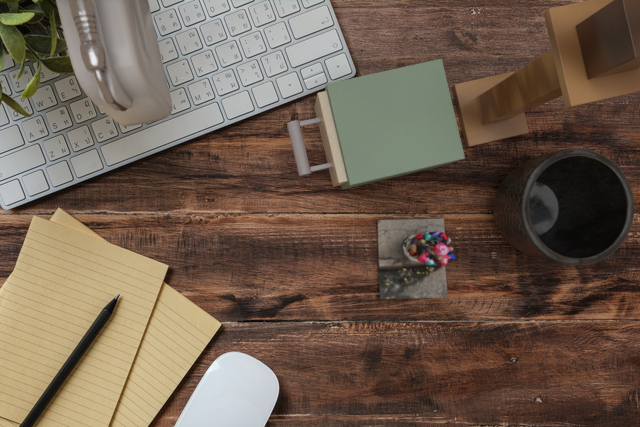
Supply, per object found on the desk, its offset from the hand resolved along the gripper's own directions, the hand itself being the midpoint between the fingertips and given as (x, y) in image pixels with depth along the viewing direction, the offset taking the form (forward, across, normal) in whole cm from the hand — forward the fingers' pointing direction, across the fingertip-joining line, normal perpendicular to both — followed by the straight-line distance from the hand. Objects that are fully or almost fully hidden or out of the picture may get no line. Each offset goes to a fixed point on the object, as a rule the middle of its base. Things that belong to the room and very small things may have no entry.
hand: (139, 10), depth 37 cm
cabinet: (+29, -10, -23) cm, 38 cm away
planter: (+29, -25, -41) cm, 56 cm away
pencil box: (+3, -10, -39) cm, 40 cm away
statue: (+29, -28, -23) cm, 47 cm away
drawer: (+28, -10, -19) cm, 35 cm away
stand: (+29, -10, -39) cm, 50 cm away
